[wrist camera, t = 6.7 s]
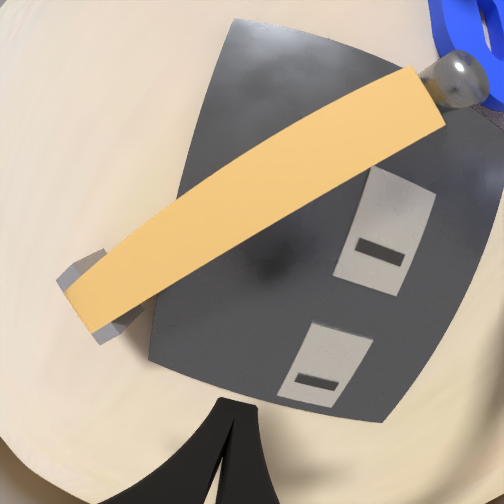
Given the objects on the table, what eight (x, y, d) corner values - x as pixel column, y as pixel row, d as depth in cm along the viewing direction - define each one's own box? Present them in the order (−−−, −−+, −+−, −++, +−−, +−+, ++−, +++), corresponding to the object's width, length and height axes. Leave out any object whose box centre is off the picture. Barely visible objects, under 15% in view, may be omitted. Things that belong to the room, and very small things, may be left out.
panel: (504, 136, 12) (559, 134, 7) (379, 414, 18) (392, 467, 13) (238, 23, 12) (215, -29, 7) (154, 352, 19) (119, 401, 14)
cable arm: (379, 70, 11) (399, 49, 8) (425, 145, 12) (454, 142, 9) (85, 263, 16) (55, 280, 13) (124, 321, 17) (99, 345, 14)
